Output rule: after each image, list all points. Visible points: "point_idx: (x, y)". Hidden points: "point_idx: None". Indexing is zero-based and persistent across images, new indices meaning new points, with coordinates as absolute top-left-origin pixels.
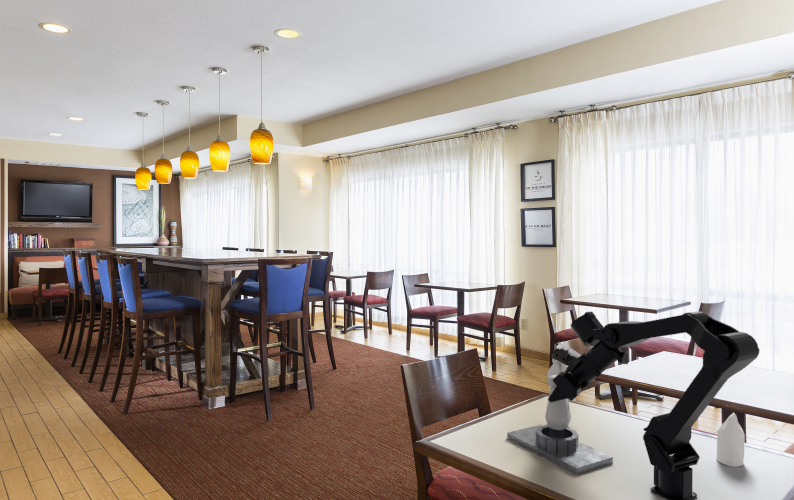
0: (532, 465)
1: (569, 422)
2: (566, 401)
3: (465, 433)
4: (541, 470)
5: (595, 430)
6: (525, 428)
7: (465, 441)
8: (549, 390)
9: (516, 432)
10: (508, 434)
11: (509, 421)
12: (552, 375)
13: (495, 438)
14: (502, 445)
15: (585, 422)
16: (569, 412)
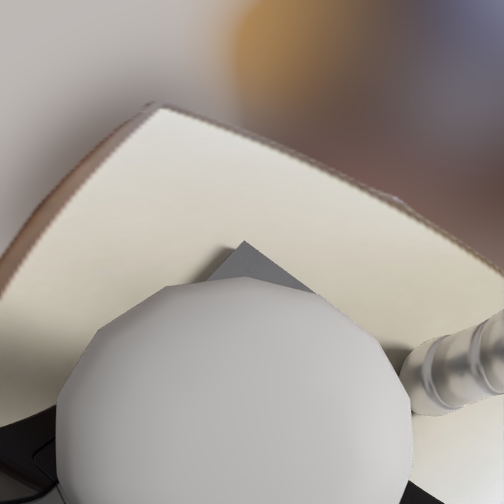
0: (55, 344)
1: (425, 415)
2: (475, 396)
3: (231, 153)
4: (32, 370)
5: (423, 485)
6: (311, 291)
7: (177, 159)
8: (497, 313)
9: (259, 267)
10: (240, 246)
11: (373, 241)
12: (307, 348)
13: (226, 219)
14: (178, 244)
15: (463, 439)
16: (450, 410)
